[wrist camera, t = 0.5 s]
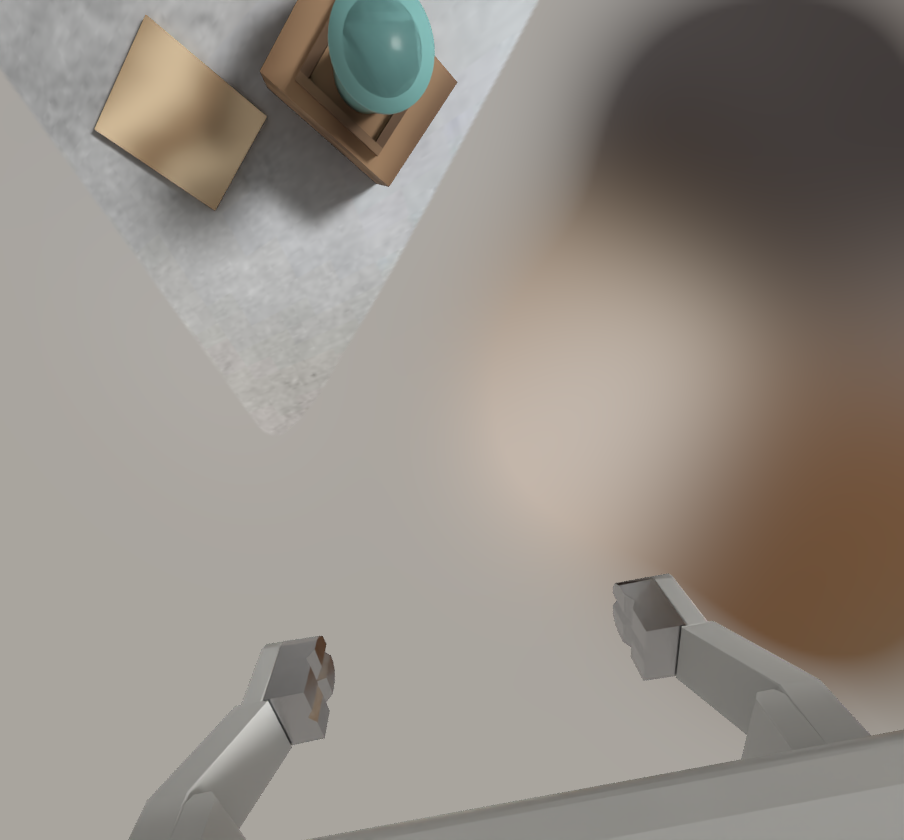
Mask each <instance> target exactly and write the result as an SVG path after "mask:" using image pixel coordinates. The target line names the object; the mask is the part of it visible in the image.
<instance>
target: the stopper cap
mask: <svg viewBox="0 0 904 840" xmlns="http://www.w3.org/2000/svg"><path fill="white" fill-rule="evenodd" d="M328 48H329V55H330V59H331V63H332V66H333V75H334V81H335V85H336V88H337V90H338V92H339V94H340V96H341V98H342V99H343V100H344V102H345V103H346V104H347V105H348V106H349V107H351V108H352V109H353V110H355V111H357V112H359V113H363V114H373V113H377V114H383V115H390V114H396V113H399V112H402V111H404V110H406V109H408V108H409V107H411V106H412V105H413V104H415V103H416V102H417V101H418V100H419V99H420V98H421V96H422V95H423V93H424V92H425V90H426V88H427V86H428V84H429V82H430V79H431V76H432V72H433V66H434V56H435V51H434V39H433V34H432V29H431V26H430V23H429V20H428V17H427V15H426V13H425V11H424V9H423V7H422V5H421V4H420V2H419V1H418V0H335V2H334V5H333V8H332V11H331V14H330V20H329V25H328Z"/></svg>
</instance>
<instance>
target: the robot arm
mask: <svg viewBox="0 0 904 840" xmlns="http://www.w3.org/2000/svg"><path fill="white" fill-rule="evenodd" d="M613 594H614V596H615V598H616V599H617V601H616V602H615V603H614V605H613V616H614V620H615V624H616V627H617V630H618V632H619V635H620V637H621V639H622V641H623V642H624V643H626V644H627V645H629V646H630V647H631V658H632V660H633V662H634V664H635V666H636V668H637V669H638V671H639V673H640V675H641V677H642V679H643V680H652V679H658V678H665V677H671V676H676V678H677V679H678V680H680V681H681V682H682V683H683V684H685V685H686V686H687V687H688V688H690V689H691V690H692V691H693V692H694V693H696V694H697V695H698V696H700V697H701V698H702V699H703V700H704V701H706V702H707V703H708V704H709V705H710V706H712V707H713V708H714V709H715V710H717V711H718V712H719V713H720V714H722V715H723V716H724V717H725V718H727V719H728V720H729V721H730V722H732V723H733V724H734V725H735V726H737V727H738V728H739V729H740V730H741V731H743V732H744V733H745V734H746V735H747V737H746V741H745V746H744V750H743V754H742V759H741V760H736V761H731V762H726V763H720V764H715V765H709V766H704V767H699V768H693V769H687V770H682V771H677V772H671V773H666V774H660V775H655V776H650V777H644V778H639V779H634V780H628V781H623V782H617V783H611V784H606V785H600V786H595V787H590V788H584V789H579V790H574V791H568V792H562V793H557V794H552V795H547V796H540V797H535V798H530V799H525V800H519V801H513V802H508V803H503V804H497V805H492V806H486V807H481V808H476V809H470V810H465V811H459V812H454V813H448V814H443V815H438V816H433V817H427V818H421V819H416V820H411V821H406V822H400V823H394V824H389V825H384V826H378V827H373V828H367V829H362V830H356V831H352V832H345V833H340V834H335V835H329V836H324V837H318V838H313V839H307V840H904V730H899V731H893V732H888V733H883V734H877V735H872V736H871V735H870V734H869V733H868V732H867V731H866V729H865V728H864V727H863V726H862V725H861V724H860V723H859V722H858V721H857V720H856V719H855V717H853V716H852V714H851V713H850V712H849V711H848V710H847V709H846V708H845V707H844V706H843V705H842V703H841V702H840V701H839V700H838V699H837V698H836V697H835V696H834V695H833V694H832V692H831V691H830V690H829V689H828V688H827V687H826V686H825V685H824V684H823V683H822V682H821V681H820V679H818V678H816V677H814V676H812V675H811V674H809V673H807V672H805V671H803V670H802V669H800V668H798V667H796V666H794V665H792V664H791V663H789V662H787V661H785V660H783V659H782V658H780V657H778V656H776V655H774V654H773V653H771V652H769V651H767V650H765V649H763V648H761V647H760V646H758V645H756V644H754V643H752V642H751V641H749V640H747V639H745V638H743V637H742V636H740V635H738V634H736V633H734V632H733V631H731V630H729V629H727V628H725V627H723V626H722V625H720V624H718V623H716V622H714V621H709V622H708V621H707V620H706V619H705V618H704V616H703V615H702V614H701V613H700V611H699V610H698V608H697V607H696V606H695V605H694V603H693V602H692V601H691V599H690V598H689V597H688V596H687V594H686V593H685V592H684V590H683V589H682V588H681V587H680V585H679V584H678V583H677V581H676V580H675V579H674V578H673V576H671V575H670V574H663V575H658V576H652V577H645V578H640V579H635V580H629V581H624V582H619V583H615V584H614V586H613ZM325 648H326V642H325V640H324V638H323V636H316V637H309V638H303V639H296V640H290V641H284V642H277V643H272V644H266V645H265V646H264V648H263V649H262V650H261V653H260V655H259V658H258V661H257V663H256V666H255V669H254V671H253V674H252V677H251V679H250V682H249V685H248V688H247V690H246V693H245V696H244V698H243V701H242V704H241V705H239V706H235V707H234V708H233V709H232V710H231V711H230V712H229V714H228V715H227V716H226V717H225V718H224V719H223V720H222V721H221V722H220V723H219V724H218V725H217V726H216V727H215V729H214V730H213V731H212V732H211V733H210V734H209V735H208V736H207V737H206V738H205V739H204V740H203V741H202V742H201V743H200V745H199V746H198V747H197V748H196V749H195V750H194V751H193V752H192V753H191V754H190V755H189V756H188V757H187V759H186V760H185V761H184V762H183V763H182V764H181V765H180V766H179V767H178V768H177V770H175V771H174V772H173V773H172V775H171V776H170V777H169V778H168V779H167V780H166V781H165V782H164V783H163V784H162V785H161V786H160V787H159V788H158V790H157V791H156V792H155V793H154V794H153V795H152V796H151V797H150V798H149V799H148V800H147V802H146V804H145V806H144V808H143V810H142V812H141V814H140V816H139V819H138V821H137V823H136V825H135V827H134V829H133V831H132V833H131V835H130V837H129V840H246V839H245V837H244V836H243V834H242V833H241V832H240V830H239V828H240V826H241V825H242V824H243V822H244V821H245V819H246V817H247V816H248V814H249V813H250V811H251V810H252V808H253V807H254V805H255V803H256V802H257V800H258V799H259V797H260V796H261V794H262V793H263V791H264V790H265V788H266V787H267V785H268V783H269V782H270V780H271V779H272V777H273V776H274V774H275V773H276V771H277V770H278V768H279V766H280V765H281V763H282V762H283V760H284V759H285V757H286V756H287V754H288V752H289V751H290V749H291V748H292V747H291V745H295V744H299V743H304V742H309V741H313V740H318V739H323V738H325V733H326V727H327V722H328V716H329V708H328V706H327V703H326V701H327V700H328V699H329V698H330V696H331V695H332V694H333V689H334V683H335V670H334V665H333V660H332V657H331V655H329V654H327V653H326V652H325Z"/></svg>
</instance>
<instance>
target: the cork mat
mask: <svg viewBox="0 0 904 840" xmlns="http://www.w3.org/2000/svg"><path fill="white" fill-rule="evenodd" d="M266 118H267V116H266V115H264V114H263V113H262V112H261V111H260V110H258V109H257V108H256V107H255V106H254V105H253V104H251V103H250V102H249V101H248V100H247V99H245V98H244V97H243V96H242V95H241V94H239V93H238V92H237V91H236V90H235V89H234V88H232V87H231V86H230V85H229V84H228V83H226V82H225V81H224V80H223V79H222V78H221V77H219V76H218V75H217V74H216V73H215V72H213V71H212V70H211V69H210V68H209V67H207V66H206V65H205V64H204V63H203V62H202V61H200V60H199V59H198V58H197V57H196V56H194V55H193V54H192V53H191V52H190V51H188V50H187V49H186V48H185V47H184V46H183V45H181V44H180V43H179V42H178V41H177V40H175V39H174V38H173V37H172V36H171V35H170V34H168V33H167V32H166V31H165V30H164V29H162V28H161V27H160V26H159V25H158V24H156V23H155V22H154V21H153V20H152V19H151V18H149V17H148V16H147V15H145V17H144V19H143V22H142V24H141V26H140V28H139V30H138V33H137V35H136V37H135V39H134V42H133V44H132V46H131V48H130V51H129V53H128V55H127V57H126V60H125V62H124V64H123V66H122V68H121V71H120V73H119V75H118V77H117V80H116V82H115V84H114V86H113V89H112V91H111V93H110V95H109V97H108V100H107V102H106V104H105V106H104V109H103V111H102V113H101V115H100V118H99V120H98V122H97V124H96V127H95V130H96V131H98V132H99V133H101V134H102V135H104V136H105V137H106V138H108V139H109V140H111V141H112V142H114V143H115V144H117V145H118V146H120V147H121V148H123V149H124V150H126V151H127V152H129V153H130V154H132V155H133V156H135V157H136V158H138V159H139V160H140V161H142V162H143V163H145V164H146V165H148V166H149V167H151V168H152V169H154V170H155V171H157V172H158V173H160V174H161V175H163V176H164V177H166V178H167V179H169V180H170V181H172V182H173V183H175V184H176V185H177V186H179V187H180V188H182V189H183V190H185V191H186V192H188V193H189V194H191V195H192V196H194V197H195V198H197V199H198V200H200V201H201V202H203V203H204V204H206V205H207V206H209V207H210V208H211V209H213V210H214V211H215V210H216V209H217V207H218V205H219V203H220V201H221V200H222V198H223V196H224V194H225V192H226V190H227V189H228V187H229V185H230V183H231V181H232V180H233V178H234V176H235V174H236V172H237V170H238V169H239V167H240V165H241V163H242V161H243V160H244V158H245V156H246V154H247V152H248V151H249V149H250V147H251V145H252V143H253V141H254V140H255V138H256V136H257V134H258V132H259V131H260V129H261V127H262V125H263V123H264V122H265V120H266Z"/></svg>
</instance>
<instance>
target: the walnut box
mask: <svg viewBox="0 0 904 840" xmlns="http://www.w3.org/2000/svg"><path fill="white" fill-rule="evenodd" d="M334 2H335V0H297V2H296V4H295V6H294V8H293V10H292V12H291V14H290V15H289V17H288V19H287V21H286V23H285V25H284V27H283V29H282V30H281V32H280V34H279V36H278V38H277V40H276V42H275V44H274V45H273V47H272V49H271V51H270V53H269V55H268V57H267V59H266V61H265V62H264V64H263V66H262V68H261V70H260V73H261V75H262V77H263V79H264V81H265V83H266V85H267V88H268V89H270V90H271V91H272V92H273V93H274V94H275V95H276V96H278V97H279V98H280V99H281V100H282V101H283V102H284V103H285V104H287V105H288V106H289V107H290V108H291V109H292V110H293V111H295V112H296V113H297V114H298V115H299V116H300V117H301V118H303V119H304V120H305V121H306V122H307V123H308V124H309V125H310V126H312V127H313V128H314V129H315V130H316V131H317V132H318V133H320V134H321V135H322V136H323V137H324V138H325V139H326V140H327V141H329V142H330V143H331V144H332V145H333V146H334V147H335V148H337V149H338V150H339V151H340V152H341V153H342V154H343V155H344V156H346V157H347V158H348V159H349V160H350V161H351V162H352V163H354V164H355V165H356V166H357V167H358V168H359V169H360V170H361V171H363V172H364V173H365V174H366V175H367V176H368V177H369V178H371V179H372V180H373V181H374V182H375V183H376V184H379V185H384V186H388V187H389V186H390V184H391V183H392V181H393V180H394V178H395V177H396V175H397V174H398V172H399V171H400V169H401V168H402V166H403V165H404V163H405V162H406V160H407V158H408V157H409V155H410V154H411V152H412V151H413V149H414V148H415V146H416V145H417V143H418V142H419V140H420V139H421V137H422V136H423V134H424V133H425V131H426V129H427V128H428V126H429V125H430V123H431V122H432V120H433V119H434V117H435V116H436V114H437V113H438V111H439V110H440V108H441V107H442V105H443V104H444V102H445V100H446V99H447V97H448V96H449V94H450V93H451V91H452V90H453V88H454V87H455V85H456V84H457V81H456V80H455V79H454V78H453V77H452V75H451V74H450V73H449V72H448V71H447V70H446V68H445V67H444V66H443V65H442V64H441V62H440V61H439V60H438V59H437V58H436V57H435V56H434V66H433V72H432V76H431V79H430V82H429V84H428V86H427V88H426V90H425V92H424V93H423V95H422V96H421V98H420V99H419V100H418V101H417V102H416V103H415V104H413V105H412V106H411V107H409V108H408V109H406V110H404V111H402V112H399V113H396V114H390V115H383V114H377V113H373V114H363V113H359V112H357V111H355V110H353V109H352V108H351V107H349V106H348V105H347V104H346V103H345V102H344V100H343V99H342V98H341V96H340V94H339V92H338V90H337V88H336V85H335V81H334V75H333V66H332V63H331V59H330V55H329V48H328V25H329V20H330V14H331V11H332V8H333V5H334Z"/></svg>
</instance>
